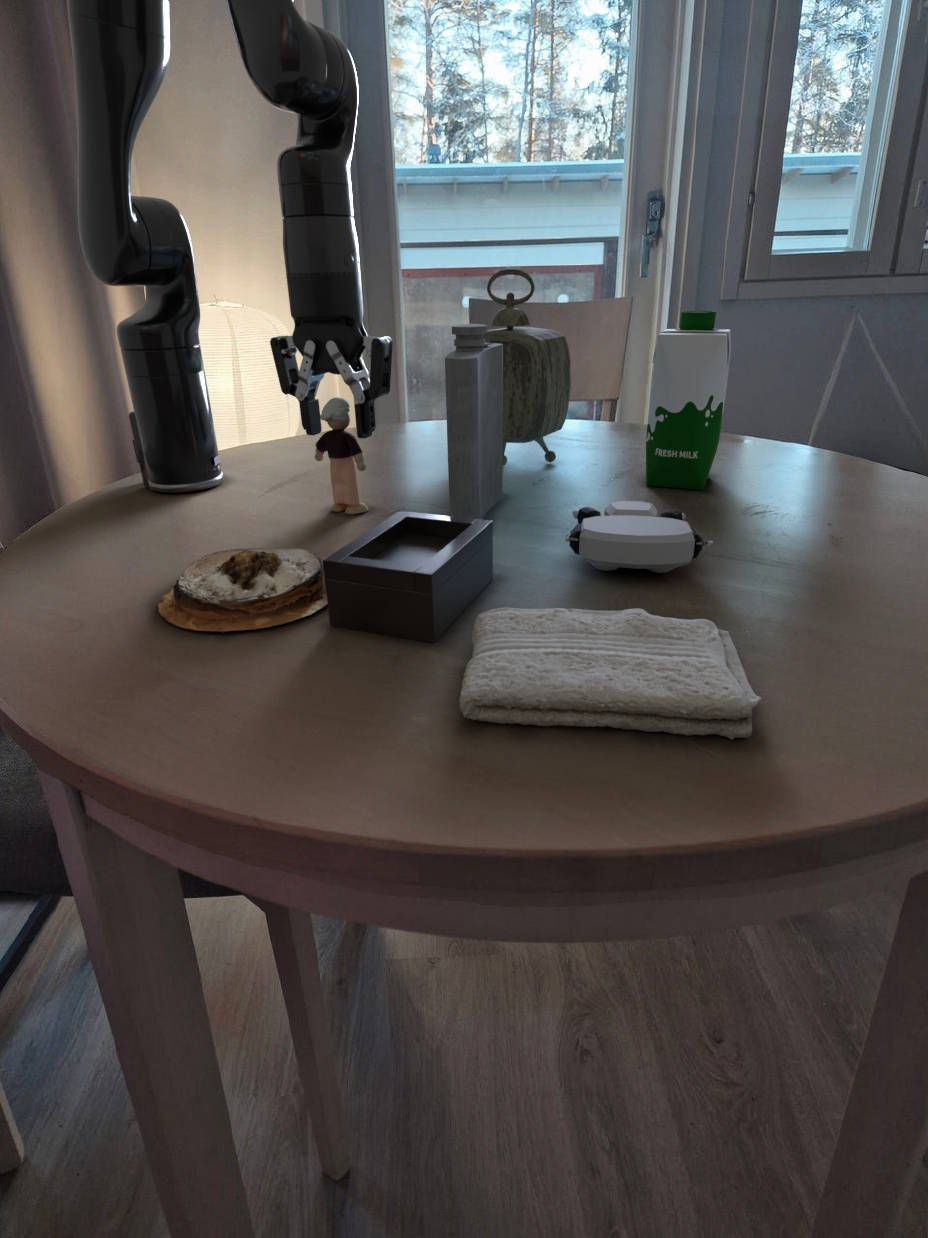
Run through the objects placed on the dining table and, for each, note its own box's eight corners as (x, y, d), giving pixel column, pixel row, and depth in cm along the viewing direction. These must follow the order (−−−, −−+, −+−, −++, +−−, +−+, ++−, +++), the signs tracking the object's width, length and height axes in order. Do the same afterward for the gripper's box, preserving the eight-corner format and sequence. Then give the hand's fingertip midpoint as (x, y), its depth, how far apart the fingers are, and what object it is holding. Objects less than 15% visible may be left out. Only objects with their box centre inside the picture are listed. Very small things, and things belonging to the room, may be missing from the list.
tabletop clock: (567, 461, 103) (575, 267, 92) (538, 476, 96) (543, 268, 85) (481, 451, 110) (479, 269, 99) (448, 463, 103) (442, 270, 92)
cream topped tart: (210, 560, 69) (203, 519, 68) (359, 566, 67) (356, 524, 65) (123, 628, 56) (111, 579, 54) (305, 638, 54) (299, 587, 52)
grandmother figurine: (382, 507, 84) (374, 396, 78) (365, 517, 81) (355, 401, 75) (328, 501, 87) (316, 393, 81) (309, 510, 84) (296, 398, 78)
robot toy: (567, 537, 76) (563, 582, 62) (569, 495, 74) (565, 531, 61) (686, 541, 74) (709, 588, 60) (691, 497, 72) (715, 536, 59)
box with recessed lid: (329, 625, 56) (322, 560, 54) (402, 567, 67) (399, 510, 65) (434, 643, 53) (431, 574, 51) (493, 579, 64) (493, 520, 61)
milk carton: (716, 475, 94) (738, 310, 86) (710, 493, 87) (734, 314, 78) (648, 470, 97) (663, 310, 89) (637, 487, 90) (652, 314, 81)
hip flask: (476, 537, 74) (473, 329, 65) (438, 535, 75) (430, 329, 66) (504, 495, 88) (505, 318, 79) (472, 493, 89) (469, 319, 80)
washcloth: (765, 745, 41) (774, 699, 40) (454, 730, 43) (453, 686, 42) (721, 647, 52) (727, 608, 50) (474, 639, 54) (473, 601, 52)
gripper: (402, 267, 74) (411, 432, 81) (285, 270, 78) (303, 426, 86) (367, 267, 67) (380, 446, 75) (242, 270, 72) (265, 438, 80)
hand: (339, 434), depth 80 cm, fingers open, 6 cm apart
